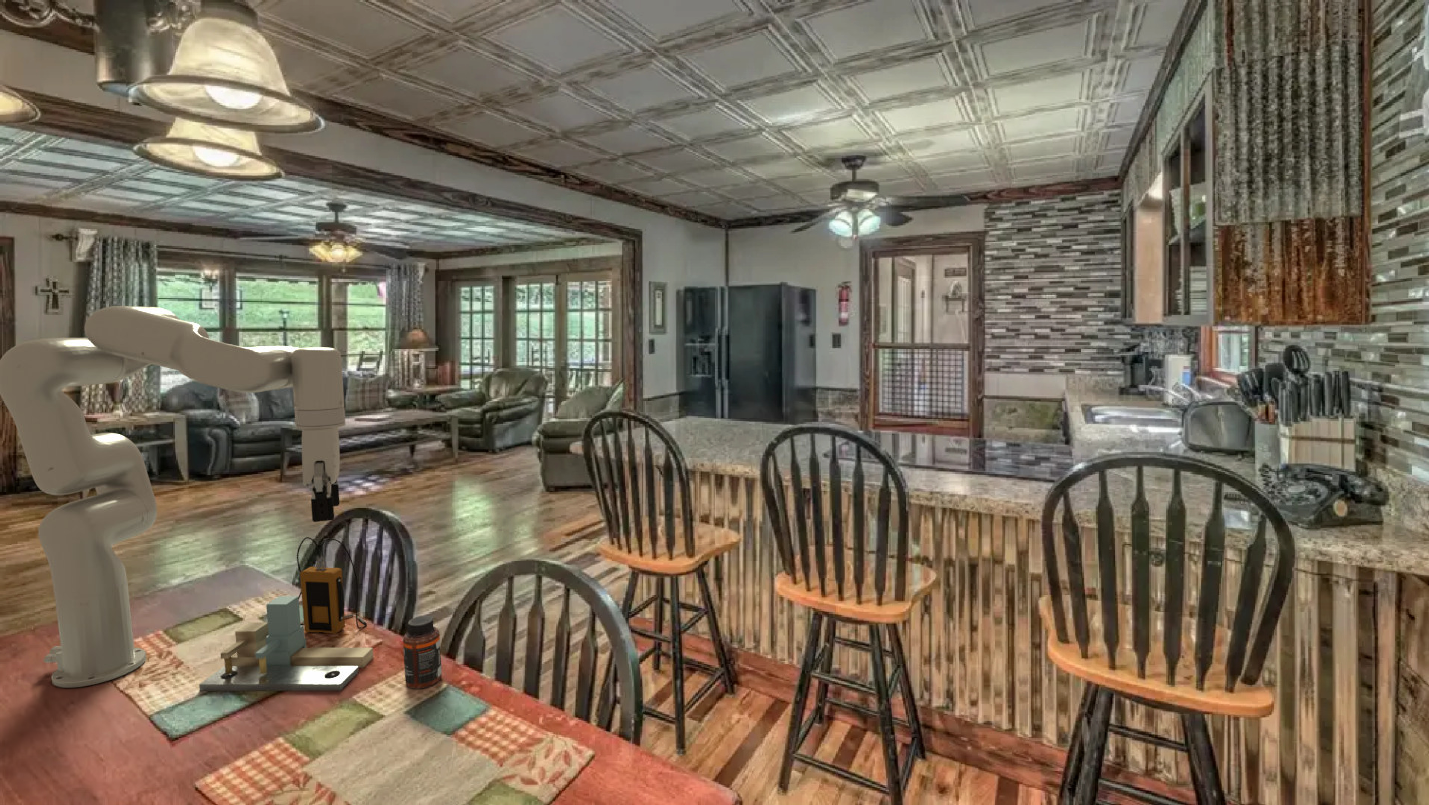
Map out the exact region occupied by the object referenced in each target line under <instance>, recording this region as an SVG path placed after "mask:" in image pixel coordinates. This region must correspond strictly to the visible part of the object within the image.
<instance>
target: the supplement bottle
mask: <svg viewBox="0 0 1429 805" xmlns="http://www.w3.org/2000/svg"><path fill="white" fill-rule="evenodd" d="M433 618H434V617H432V616H430V615H420V616H415V617H413V618H411V619H409V620H408V623H407V630H408V631H407V632H406V633H405V634H404V635H403V637H402V644H403V646H402V647H403V651H402V652H403V662H404V664H403V666H404V680H405V681H404V682H405V685H406V686H407V687H408V688H410V689H411V688H412V689H425V688H428V687H431V686H434V685H435V684H437V682H439V681H440V680H441V679H442V675H443V674H442V671H443V670H442V657H441V655H442V654H441V652H442V650H441V637H440V636H441V634H440V630H439V629H438V628H437V627H436V626H434V619H433Z"/></svg>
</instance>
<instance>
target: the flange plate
mask: <svg viewBox="0 0 1429 805" xmlns="http://www.w3.org/2000/svg"><path fill="white" fill-rule="evenodd" d="M232 671H233V672H232V673H230V674H226V673H225V665H224V666H222V667H221V668H220V669H219V670H217V671H216V672H215V673H213V674H212V675H210V676H208V677H207V678H206V679H205V680H203V681H202V682H201V683H199V684H198V687H199V688H198V689H199V692H230V691H231V692H240V691H241V692H247V691H248V692H256V691H258V692H259V691H260V692H266V691H267V692H270V691H272V692H276V691H277V692H284V691H285V692H286V691H287V692H288V691H290V692H292V691H293V692H294V691H295V692H297V691H298V692H299V691H300V692H303V691H306V692H308V691H311V692H313V691H314V692H315V691H317V692H318V691H320V692H321V691H327V692H328V691H331V692H332V691H339V692H340V691H342V690H343V689H344V688H345V687H346V686H347V685H348V684H349V683H350V682H351V680H352V679H354V678H355V677H356V676H357V674H358V673H359V671H360V670H359V667H358V666H267V672H266V673H264V674H260V666H232ZM205 690H206V691H205ZM208 690H209V691H208Z"/></svg>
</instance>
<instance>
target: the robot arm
mask: <svg viewBox="0 0 1429 805" xmlns="http://www.w3.org/2000/svg"><path fill="white" fill-rule="evenodd" d="M84 334H85V336H86V337H49V338H40V339H33V340H28V341H25V342H21V343H19V344H17V345H14V346H13V347H11V348H10V349H8V350H7V351H6V352H5V353H4V354H3V355H2V357H1V358H0V397H1V399H2V401H3V403H4V404H5V406H6V409H7V410H8V412H9V413H10V416H11V417H12V419H13V422H14V424H15V426H16V430H17V433H18V437H19V440H20V443H21V446H22V450H23V453H24V455H25V458H26V461H27V464H28V467H29V471H30V474H31V475H32V479H33V480H34V482H35V484H36V486H37V488H38V489H39V490H41V491H42V492H43V493H45V494H48V495H52V496H65V495H71V494H75V493H79V492H84V491H88V490H91V489H95V491H96V494H95V495H91V496H88V497H87V496H86V497H85V498H80V499H77V500H74V501H73V500H72V501H70V502H68V503H65V504H62V505H61V506H58V507H56V508H54V509H52V510H51V511H50V512H48V513H47V514H46V515H45V516H44V517H43V519H42V520H41V522H40V523H39V525H38V526H39V527H38V532H37V534H38V539H39V542H40V545H41V548H42V550H43V552H44V554H45V557H46V559H47V562H48V566H49V569H50V570H49V571H50V574H51V582H52V588H53V595H54V601H55V608H56V617H57V619H56V620H57V624H58V634H59V643H60V644H59V645H55V646H53V647H52V648H50V650H49V654H46V655H45V656H44V658H43V663H46V664H47V663H48V664H49V663H50V664H51V663H52V664H53V663H56V667H57V668H56V669H55V670H54V672H53V673H52V674H51V683H52V685H53V686H56V687H58V688H64V689H65V688H66V689H68V688H69V689H70V688H71V689H72V688H83V687H87V686H93V685H97V684H100V683H104V682H105V683H106V682H108V681H111V680H114V679H117V678H119V677H122V676H125V675H127V674H129V673H131V672H133V671H134V670H136V669H138V668H139V667H140V666H142V665H143V664H144V663H145V662H146V660H147V653H146V652H147V651H146V650H145V649H143V648H141V647H135V642H134V634H133V623H132V614H131V612H132V611H131V604H130V596H129V594H130V593H129V586H128V585H129V584H128V578H127V577H128V576H127V571H126V567H125V565H124V562H123V561H122V560H121V558H120V557H119V556H118V555H117V554H116V553H115V551H114V550H113V546H114V545H117V544H118V543H121V542H124V541H127V540H129V539H132V538H135V537H136V536H139V535H141V534H143V533H145V532H147V531H148V530H149V529H151V528H152V527H153V525H154V524H155V522H156V519H157V516H158V506H157V501H156V497H155V495H154V491H153V488H152V484H151V481H150V480H151V479H150V477H149V474H148V472H147V467H146V464H145V461H144V459H143V456H142V453H141V451H140V449H139V448H138V447H137V445H136V444H135V443H134V442H133V441H132V440H130V439H129V438H128V437H126V436H124V435H122V434H119V433H115V432H101V433H99V432H98V433H94V434H91V433H90V430H89V427H88V426H87V422H86V419H85V414H84V413H83V411H82V409H81V408H80V406H79V405H78V404H77V403H76V402H75V401H74V400H73V399H72V398H71V397H70V396H68V395H67V394H66V393H65V392H64V391H63V390H64V389H66V388H73V387H83V386H93V385H103V384H104V385H105V384H111V383H112V384H113V383H116V382H119V381H123V380H125V379H127V378H129V377H130V376H133V375H134V374H136V373H138V372H140V371H141V370H143V369H145V368H147V367H149V366H151V365H156V366H157V367H158V366H159V367H164V368H168V369H171V370H175V371H178V372H180V374H181V375H183V376H185V377H186V378H188V379H189V380H191V381H193V382H196V383H200V384H203V385H205V386H210V387H214V388H219V389H223V390H227V391H228V390H229V391H232V392H236V393H245V394H250V393H251V394H253V393H260V392H266V391H274V390H275V391H276V390H282V389H283V390H284V389H287V388H292V391H293V392H292V395H293V407H294V409H293V410H294V423H295V429H297V430H301V431H302V432H301V463H302V464H301V466H302V467H301V468H302V469H301V470H302V485H303V486H305V487H309V485H311V499H310V505H311V507H310V508H311V519H312V522H314V523H317V522H318V523H319V522H328V521H330V522H331V521H334V519H335V508H334V507H338V506H340V504H341V502H340V490H339V489H340V488H339V483H338V477H339V476H340V465H341V463H340V462H341V460H340V458H341V455H340V436H339V428H341V427H344V426H346V412H345V411H346V410H345V399H344V398H345V397H344V396H345V395H344V383H343V381H344V380H343V365H342V364H343V362H342V355H341V352H340V351H338V349H336V348H333V347H300V348H299V347H294V346H287V345H275V346H274V345H267V346H266V345H263V346H250V347H245V346H239V345H236V344H235V345H234V344H230V343H225V342H222V341H217V340H213V339H211V338H210V336H209V333H208V332H207V331H206V329H205V327H203V326H202V325H200V324H198V323H195V322H190V321H186V320H181V319H180V318H179V317H178V316H177V315H176V314H174V313H173V312H171V311H169V310H167V309H164V308H162V307H155V306H138V305H137V306H135V305H133V306H132V305H113V306H107V307H102V308H100V309H98V310H96V311H95V312H93V313H91V315H90V316H89V317H87V320H86V321H85V323H84Z"/></svg>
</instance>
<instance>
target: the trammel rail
mask: <svg viewBox="0 0 1429 805" xmlns="http://www.w3.org/2000/svg"><path fill="white" fill-rule="evenodd" d="M234 633H235V634H234V635H235V643H233V644H232V645H230V646H229V647H227V648H226V649H224V650H223V651H221V652H220V659H224V666H225V673H226V674H230V673H232V672H233V671H232V666H259V658H256V656H255V653H256V652H257V651H259V650H260V649H261V648H263V647H264V646H266V638H265V637H267V636H268V635H269V632H268V622H248V623H246V624H244V625H243V626H241V627H240V628H238V629H236V630H235V631H234ZM373 658H374V647H306V648H300V649H299V650H298V651H296V652H295V653H294V654H293V655H291V656H290V662H291V666H358V668H364V667H366V666H367V664H369V663H370V662H371V661H372V659H373Z"/></svg>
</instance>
